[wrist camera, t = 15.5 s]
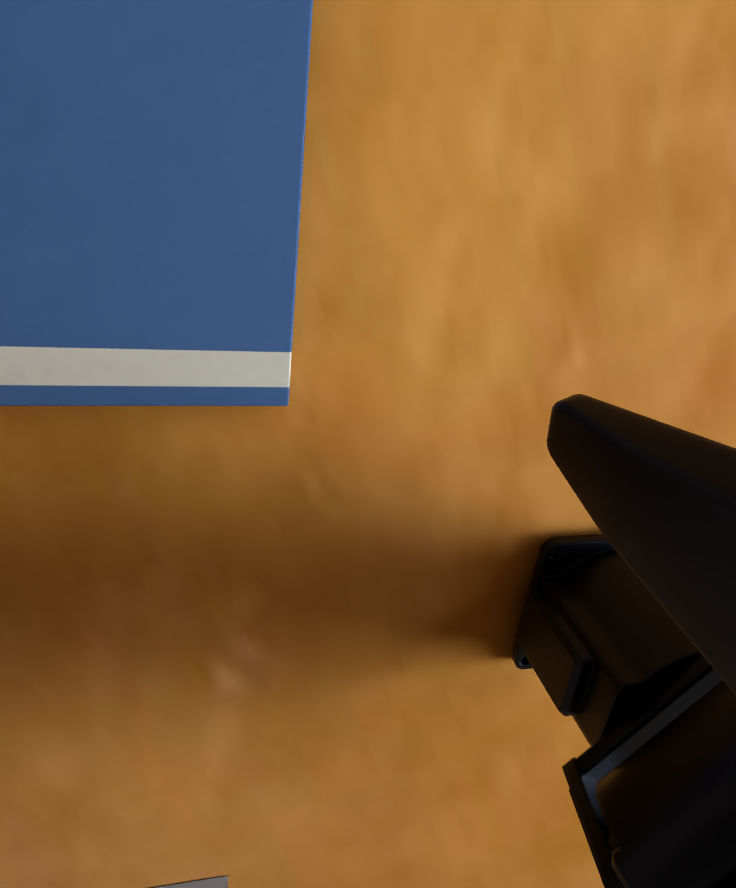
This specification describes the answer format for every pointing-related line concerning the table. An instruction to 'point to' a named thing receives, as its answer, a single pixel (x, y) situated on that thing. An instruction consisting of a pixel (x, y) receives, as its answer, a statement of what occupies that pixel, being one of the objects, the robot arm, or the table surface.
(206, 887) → the platform
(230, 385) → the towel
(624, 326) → the table surface
